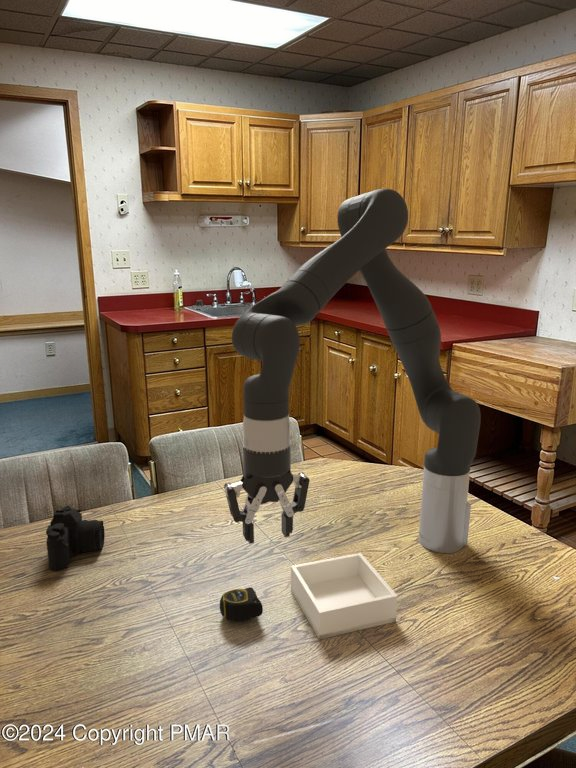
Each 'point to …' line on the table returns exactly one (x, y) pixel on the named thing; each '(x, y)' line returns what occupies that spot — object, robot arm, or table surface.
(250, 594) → the tape measure
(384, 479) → the table surface
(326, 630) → the bin
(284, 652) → the table surface
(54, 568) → the film camera
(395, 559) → the table surface
